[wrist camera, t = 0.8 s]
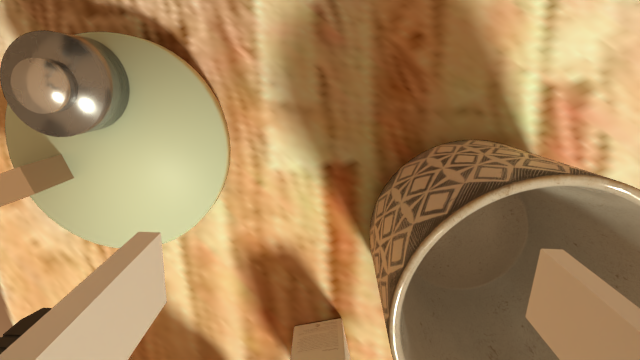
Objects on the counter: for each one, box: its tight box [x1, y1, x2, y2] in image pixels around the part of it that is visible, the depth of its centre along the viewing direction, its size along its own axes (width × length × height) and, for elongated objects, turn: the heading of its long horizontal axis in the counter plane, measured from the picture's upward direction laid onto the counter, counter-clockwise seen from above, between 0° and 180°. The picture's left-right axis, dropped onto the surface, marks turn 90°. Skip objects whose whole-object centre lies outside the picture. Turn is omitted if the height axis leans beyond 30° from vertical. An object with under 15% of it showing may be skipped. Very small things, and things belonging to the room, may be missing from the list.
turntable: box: [0, 32, 231, 248], centre depth 33 cm, size 20×20×7 cm
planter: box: [370, 140, 640, 360], centre depth 32 cm, size 19×19×16 cm
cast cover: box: [0, 31, 130, 137], centre depth 31 cm, size 8×8×6 cm
